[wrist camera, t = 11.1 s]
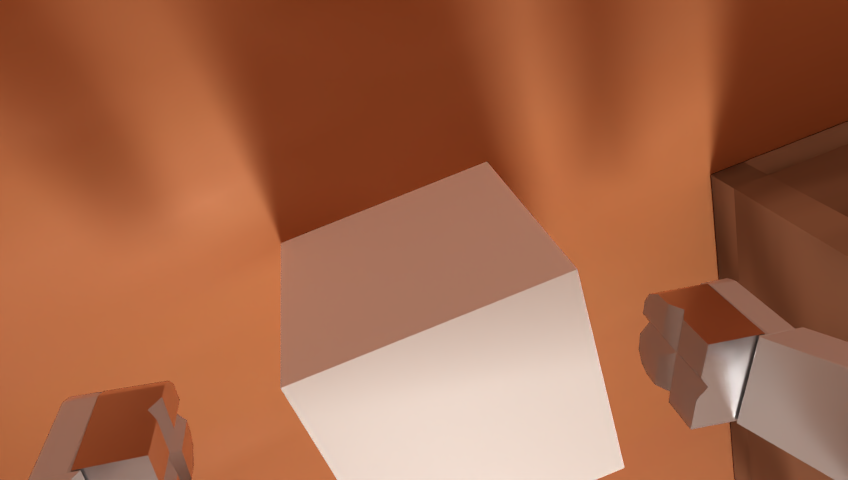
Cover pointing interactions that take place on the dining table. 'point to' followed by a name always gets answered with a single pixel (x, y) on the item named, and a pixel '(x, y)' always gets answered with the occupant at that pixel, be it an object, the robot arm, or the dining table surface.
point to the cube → (444, 342)
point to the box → (787, 258)
